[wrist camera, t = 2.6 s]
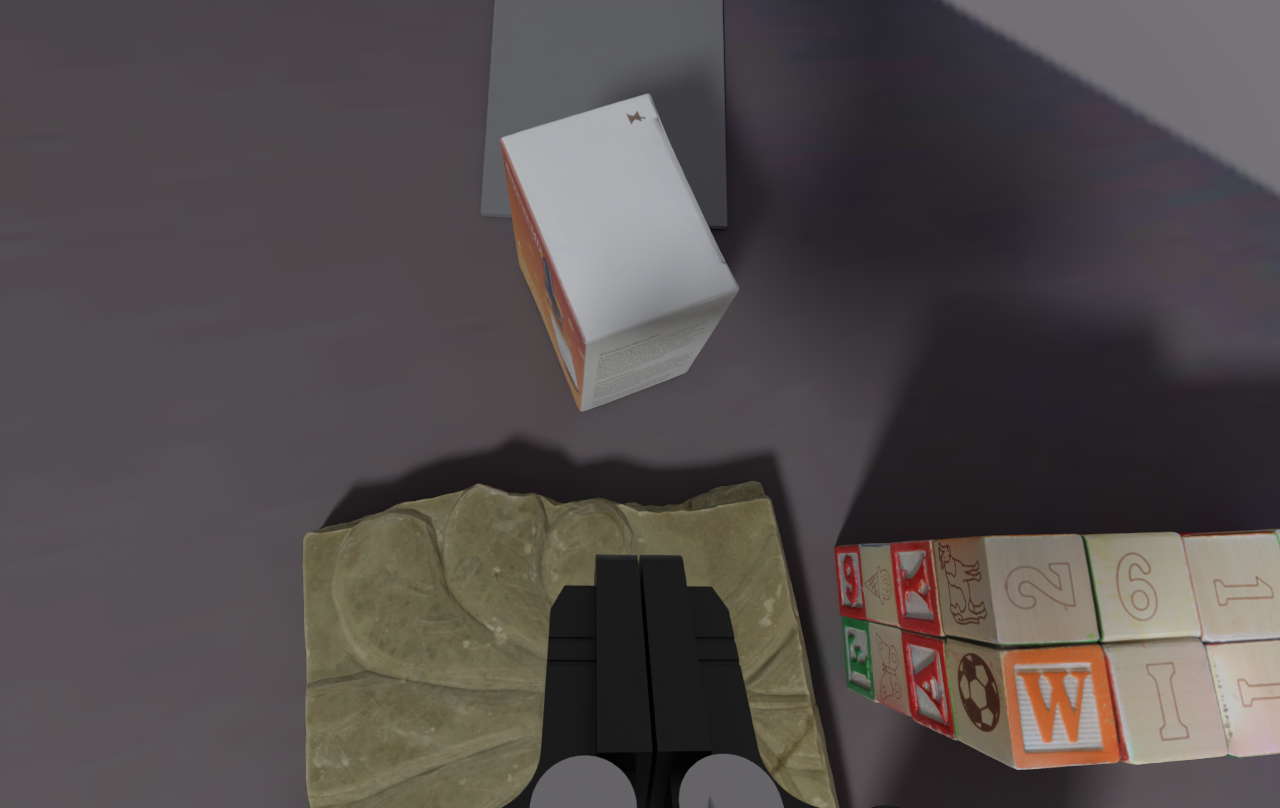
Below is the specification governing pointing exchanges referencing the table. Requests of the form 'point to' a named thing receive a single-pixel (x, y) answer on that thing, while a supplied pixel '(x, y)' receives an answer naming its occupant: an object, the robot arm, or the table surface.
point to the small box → (614, 249)
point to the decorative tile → (518, 638)
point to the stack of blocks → (1072, 642)
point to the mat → (611, 80)
